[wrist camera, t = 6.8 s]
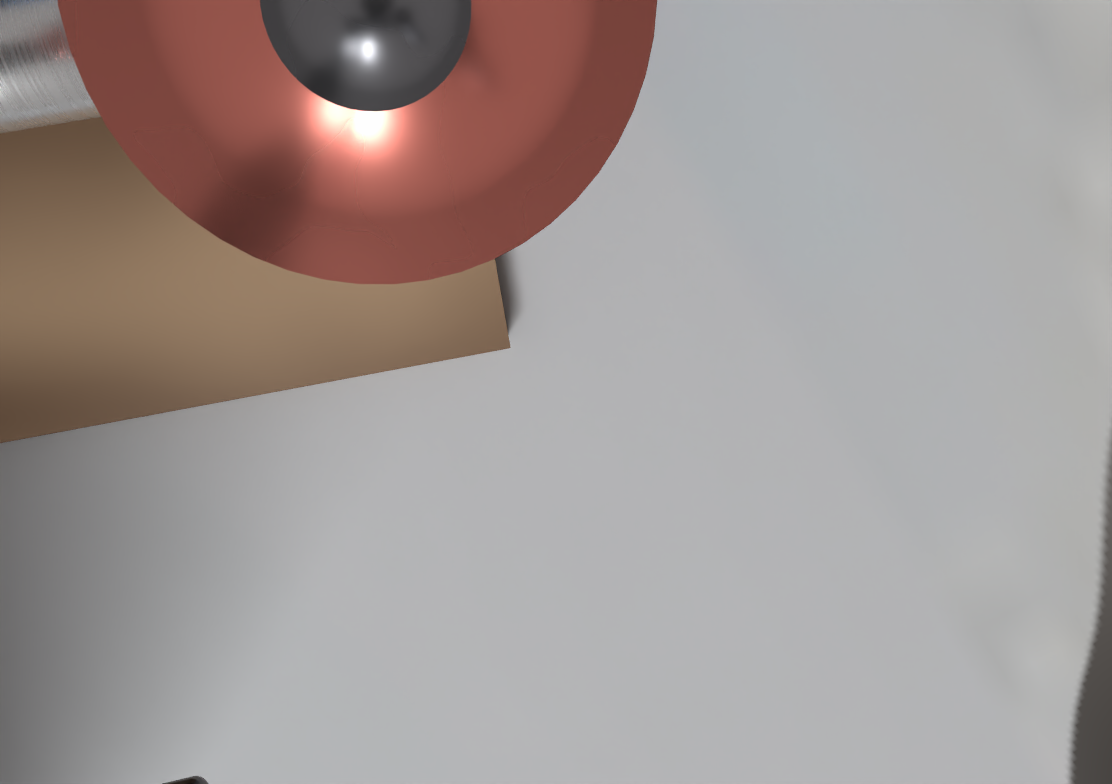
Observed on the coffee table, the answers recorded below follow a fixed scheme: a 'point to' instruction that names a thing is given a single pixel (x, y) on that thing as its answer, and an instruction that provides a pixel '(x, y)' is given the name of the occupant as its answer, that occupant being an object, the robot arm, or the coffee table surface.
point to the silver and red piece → (343, 116)
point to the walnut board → (181, 300)
